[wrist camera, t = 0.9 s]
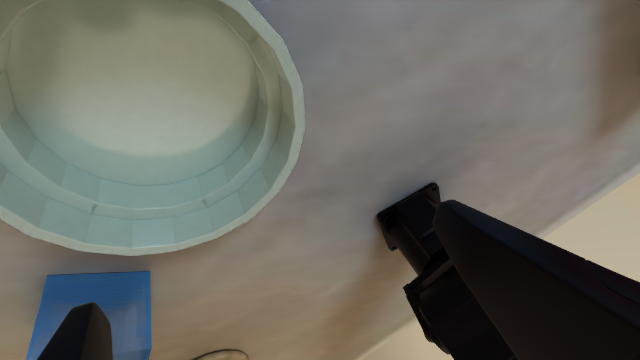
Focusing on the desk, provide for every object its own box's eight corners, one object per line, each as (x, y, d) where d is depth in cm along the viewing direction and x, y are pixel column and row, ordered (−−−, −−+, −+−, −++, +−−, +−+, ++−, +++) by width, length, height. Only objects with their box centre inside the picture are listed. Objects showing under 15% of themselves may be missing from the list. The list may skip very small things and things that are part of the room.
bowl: (310, 128, 24) (340, 169, 20) (127, 230, 23) (124, 291, 20) (188, -132, 14) (205, -143, 10) (-136, 33, 13) (-238, 84, 10)
